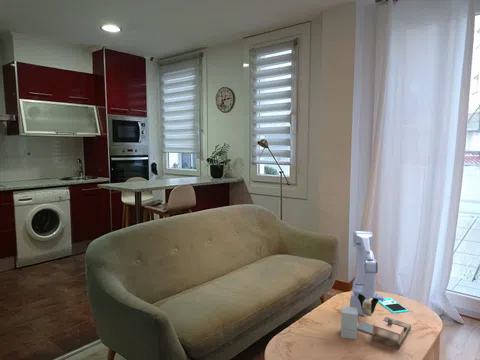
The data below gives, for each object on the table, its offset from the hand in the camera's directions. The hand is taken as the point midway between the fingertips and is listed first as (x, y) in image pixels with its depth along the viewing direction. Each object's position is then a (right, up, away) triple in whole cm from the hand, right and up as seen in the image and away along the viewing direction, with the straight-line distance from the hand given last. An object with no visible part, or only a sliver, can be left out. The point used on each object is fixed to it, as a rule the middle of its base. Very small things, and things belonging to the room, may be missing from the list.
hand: (367, 310), depth 168 cm
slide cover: (+6, -8, -9) cm, 14 cm away
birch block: (0, -1, 0) cm, 1 cm away
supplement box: (-11, -10, -4) cm, 15 cm away
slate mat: (0, -9, +1) cm, 9 cm away
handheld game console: (+23, -7, +25) cm, 35 cm away
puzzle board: (+10, -10, -3) cm, 15 cm away
